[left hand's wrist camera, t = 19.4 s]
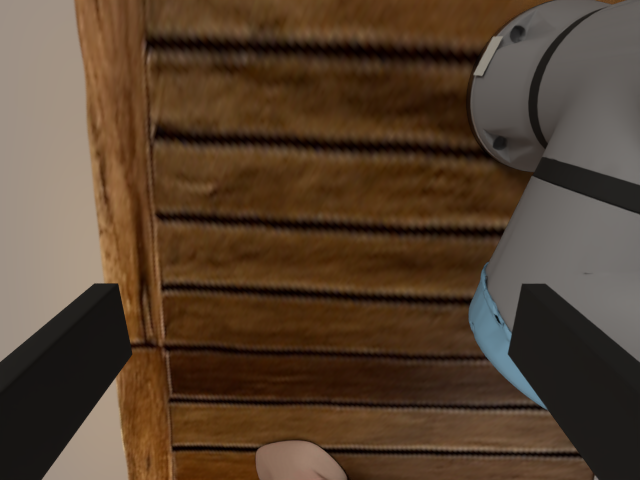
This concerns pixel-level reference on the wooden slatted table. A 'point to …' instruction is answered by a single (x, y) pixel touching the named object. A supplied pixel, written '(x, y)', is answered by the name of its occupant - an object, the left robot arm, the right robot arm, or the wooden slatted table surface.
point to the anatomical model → (296, 462)
